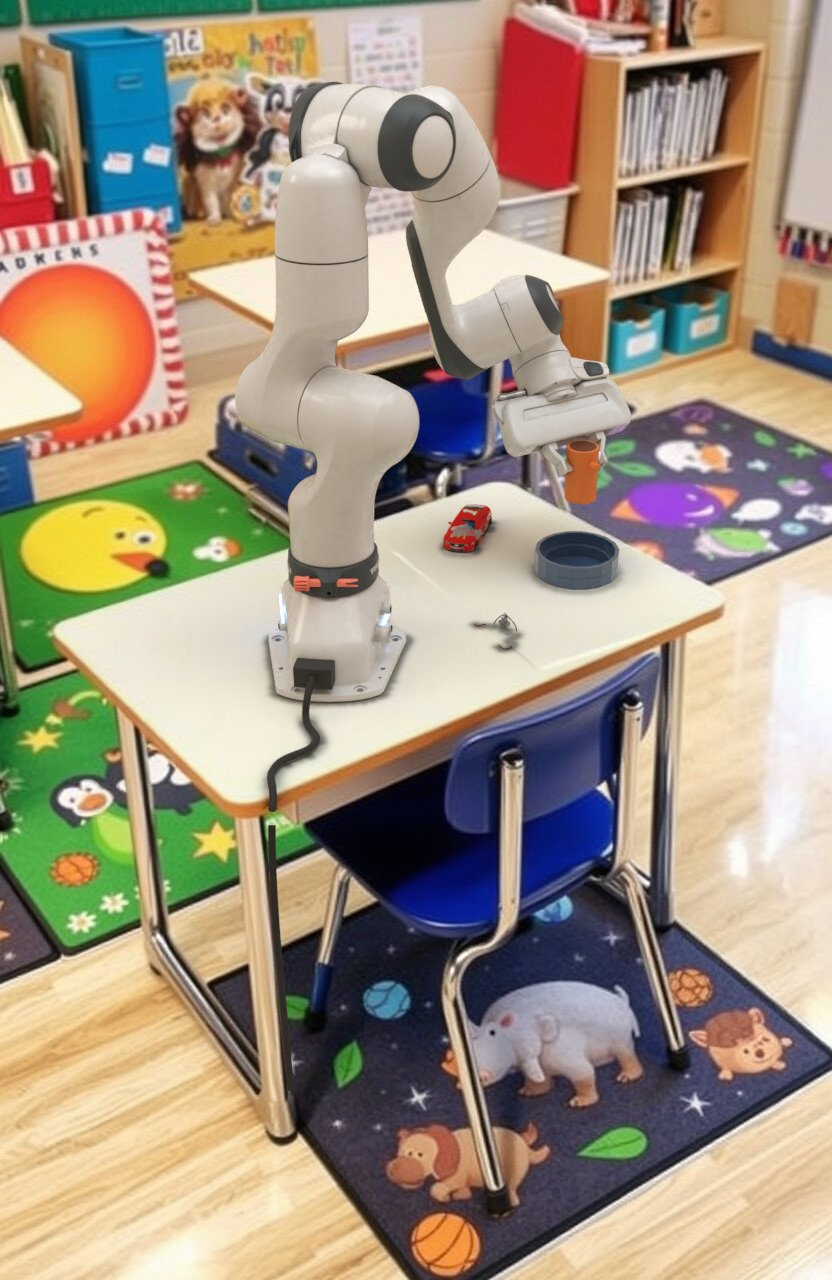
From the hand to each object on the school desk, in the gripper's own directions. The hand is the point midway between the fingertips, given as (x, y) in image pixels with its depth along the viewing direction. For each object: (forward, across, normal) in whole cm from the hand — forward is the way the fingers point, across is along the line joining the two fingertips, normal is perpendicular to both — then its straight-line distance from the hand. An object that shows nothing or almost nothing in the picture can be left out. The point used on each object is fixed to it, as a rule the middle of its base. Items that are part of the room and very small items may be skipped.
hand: (584, 469), depth 200 cm
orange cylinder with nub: (+3, 0, +4) cm, 5 cm away
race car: (-1, -9, +24) cm, 26 cm away
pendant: (+19, -20, +4) cm, 28 cm away
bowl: (+12, -1, +11) cm, 16 cm away
